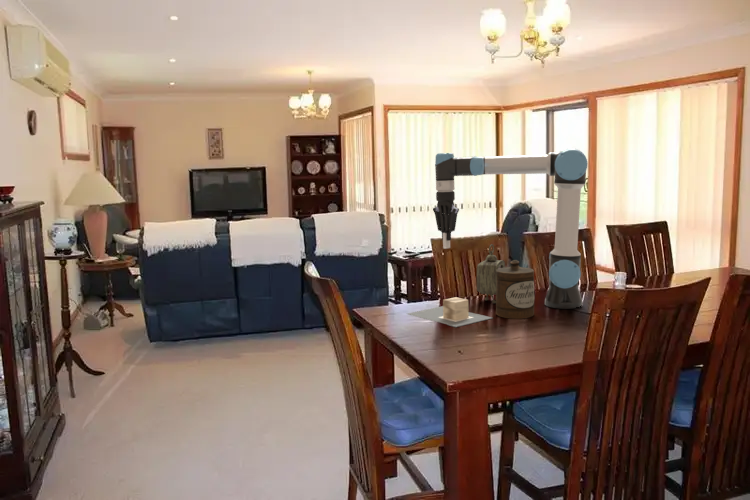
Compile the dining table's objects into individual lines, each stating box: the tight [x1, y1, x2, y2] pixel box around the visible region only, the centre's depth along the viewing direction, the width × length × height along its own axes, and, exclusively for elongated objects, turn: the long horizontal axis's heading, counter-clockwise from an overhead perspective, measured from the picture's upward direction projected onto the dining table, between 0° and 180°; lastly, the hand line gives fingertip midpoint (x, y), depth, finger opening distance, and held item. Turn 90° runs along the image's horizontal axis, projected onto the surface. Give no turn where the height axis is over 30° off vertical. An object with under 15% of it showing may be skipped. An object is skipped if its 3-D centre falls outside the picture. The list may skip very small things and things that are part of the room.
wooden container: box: [495, 259, 535, 320], centre depth 259 cm, size 15×15×22 cm
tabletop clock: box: [476, 243, 506, 304], centre depth 285 cm, size 14×9×25 cm, turn 154°
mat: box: [407, 305, 493, 328], centre depth 261 cm, size 29×20×1 cm
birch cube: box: [442, 296, 470, 320], centre depth 257 cm, size 7×7×7 cm
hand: (446, 248), depth 271 cm, fingers closed
